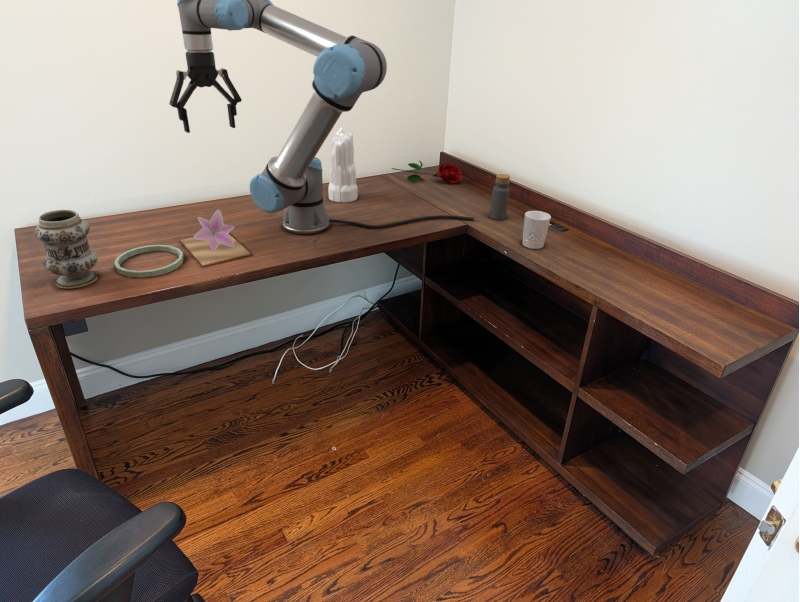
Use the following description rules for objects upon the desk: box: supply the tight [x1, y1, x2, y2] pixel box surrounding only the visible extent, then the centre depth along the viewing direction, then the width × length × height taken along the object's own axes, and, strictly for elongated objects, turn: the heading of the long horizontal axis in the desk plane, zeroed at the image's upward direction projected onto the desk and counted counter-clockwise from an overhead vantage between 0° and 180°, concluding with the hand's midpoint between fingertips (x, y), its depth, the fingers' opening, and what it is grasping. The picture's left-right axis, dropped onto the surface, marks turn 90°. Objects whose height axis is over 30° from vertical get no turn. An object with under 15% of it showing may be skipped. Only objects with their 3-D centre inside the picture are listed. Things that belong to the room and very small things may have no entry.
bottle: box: [489, 173, 511, 221], centre depth 185 cm, size 6×6×15 cm
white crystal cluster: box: [327, 127, 359, 204], centre depth 195 cm, size 11×11×25 cm
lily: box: [192, 208, 235, 252], centre depth 157 cm, size 12×12×10 cm
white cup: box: [521, 210, 552, 250], centre depth 167 cm, size 8×8×10 cm
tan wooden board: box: [180, 232, 252, 267], centre depth 158 cm, size 20×14×1 cm
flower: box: [391, 160, 463, 185], centre depth 220 cm, size 9×10×30 cm
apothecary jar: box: [34, 209, 99, 290], centre depth 134 cm, size 12×12×18 cm
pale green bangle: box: [113, 244, 185, 279], centre depth 148 cm, size 17×17×2 cm
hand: (210, 129), depth 158 cm, fingers open, 13 cm apart
